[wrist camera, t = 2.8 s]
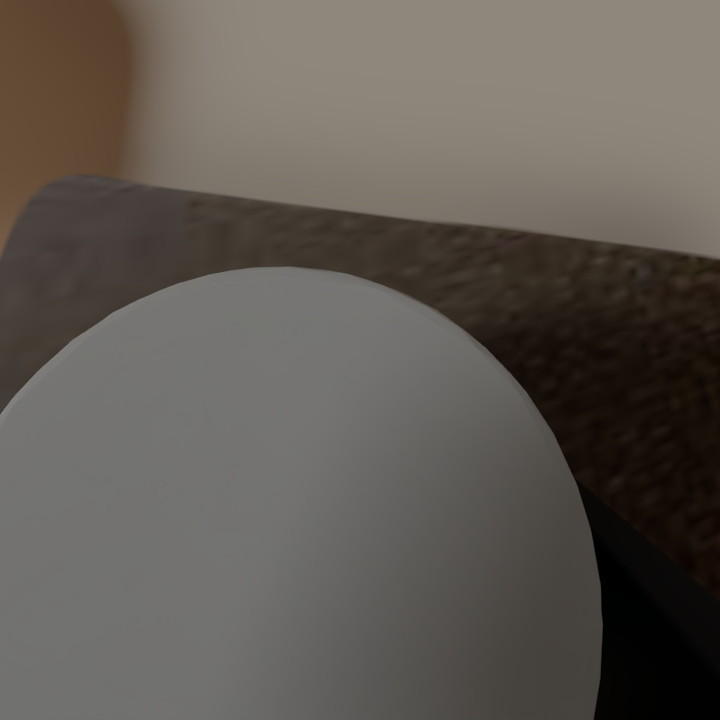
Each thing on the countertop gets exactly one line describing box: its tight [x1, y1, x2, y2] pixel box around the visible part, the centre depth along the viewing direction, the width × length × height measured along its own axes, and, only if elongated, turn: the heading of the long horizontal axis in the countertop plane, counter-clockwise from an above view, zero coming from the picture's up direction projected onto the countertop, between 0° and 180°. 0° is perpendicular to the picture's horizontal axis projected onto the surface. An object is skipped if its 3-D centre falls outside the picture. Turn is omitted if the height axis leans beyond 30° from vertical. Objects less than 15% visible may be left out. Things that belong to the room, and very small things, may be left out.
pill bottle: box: [0, 267, 603, 720], centre depth 9 cm, size 8×7×14 cm
